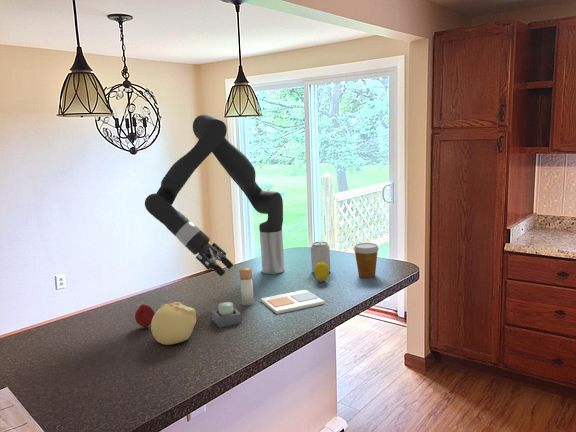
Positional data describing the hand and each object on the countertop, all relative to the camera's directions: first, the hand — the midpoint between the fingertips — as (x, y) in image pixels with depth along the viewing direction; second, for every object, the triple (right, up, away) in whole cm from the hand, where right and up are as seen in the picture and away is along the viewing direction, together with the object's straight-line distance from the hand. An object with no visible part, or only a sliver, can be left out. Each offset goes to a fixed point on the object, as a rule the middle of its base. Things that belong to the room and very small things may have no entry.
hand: (227, 270), depth 164 cm
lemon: (+33, -7, +20) cm, 39 cm away
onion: (-23, -16, -15) cm, 32 cm away
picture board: (+22, -11, -1) cm, 24 cm away
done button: (+2, -13, -15) cm, 20 cm away
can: (+34, -4, +33) cm, 47 cm away
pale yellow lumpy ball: (-12, -17, -26) cm, 33 cm away
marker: (+7, -11, +1) cm, 13 cm away
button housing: (+2, -14, -15) cm, 20 cm away
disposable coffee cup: (+51, -5, +24) cm, 56 cm away
